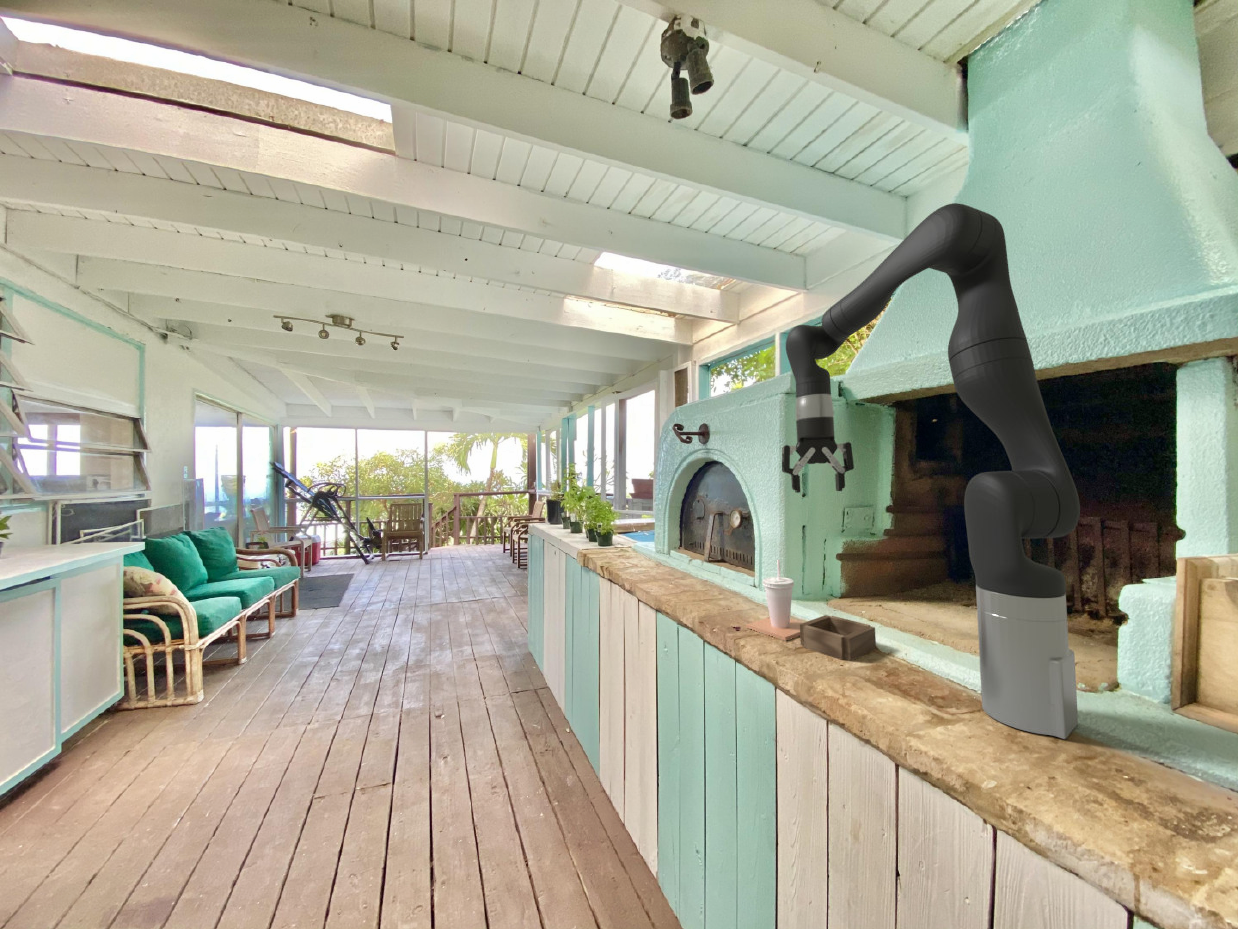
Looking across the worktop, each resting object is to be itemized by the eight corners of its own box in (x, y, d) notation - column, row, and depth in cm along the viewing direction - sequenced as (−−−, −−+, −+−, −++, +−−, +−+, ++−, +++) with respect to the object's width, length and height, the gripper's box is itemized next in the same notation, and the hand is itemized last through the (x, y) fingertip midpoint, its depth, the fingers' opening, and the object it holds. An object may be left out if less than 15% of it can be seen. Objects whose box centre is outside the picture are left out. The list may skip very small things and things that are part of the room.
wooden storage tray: (877, 648, 87) (876, 626, 87) (848, 662, 82) (847, 639, 82) (828, 633, 96) (827, 614, 96) (798, 645, 90) (797, 625, 90)
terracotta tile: (815, 630, 98) (814, 626, 98) (785, 641, 92) (785, 637, 92) (775, 618, 106) (775, 615, 106) (746, 628, 101) (746, 624, 101)
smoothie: (801, 624, 99) (798, 559, 99) (787, 632, 95) (784, 564, 95) (773, 618, 104) (770, 556, 104) (759, 626, 99) (756, 561, 100)
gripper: (843, 417, 103) (847, 490, 103) (777, 421, 105) (780, 492, 105) (855, 413, 96) (859, 491, 95) (783, 417, 98) (787, 493, 98)
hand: (818, 491), depth 100 cm, fingers open, 8 cm apart
